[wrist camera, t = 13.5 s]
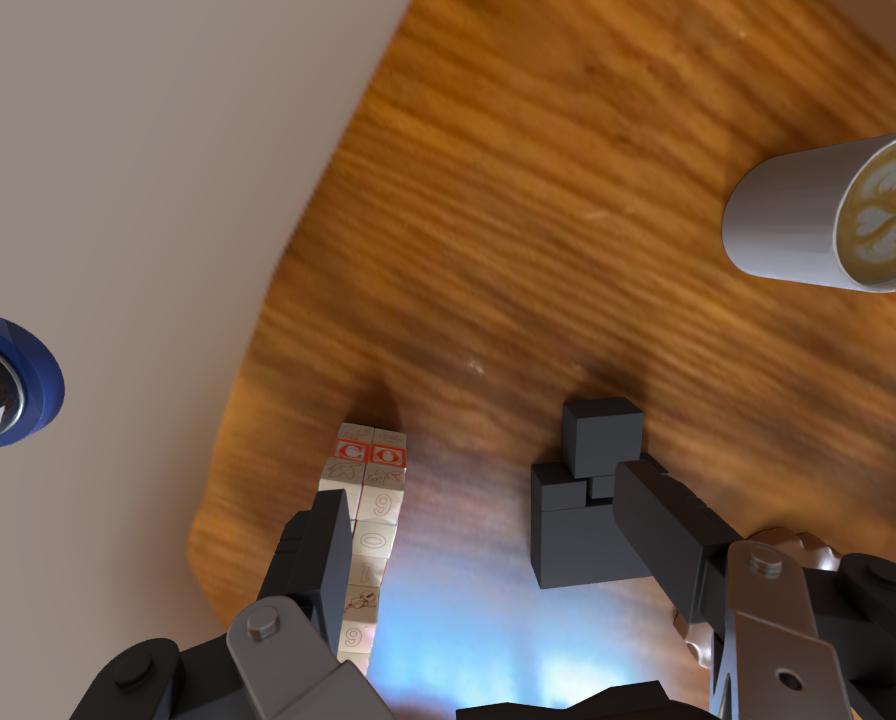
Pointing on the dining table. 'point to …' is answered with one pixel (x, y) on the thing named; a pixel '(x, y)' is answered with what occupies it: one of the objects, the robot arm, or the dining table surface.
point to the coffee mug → (819, 217)
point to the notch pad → (577, 531)
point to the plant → (799, 547)
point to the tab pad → (600, 440)
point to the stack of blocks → (366, 524)
